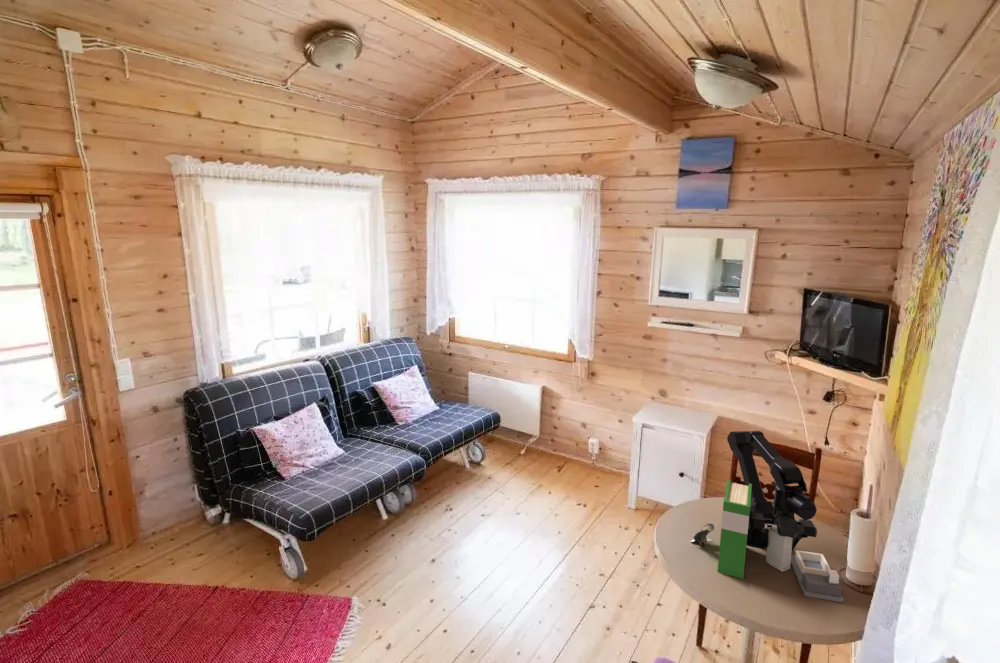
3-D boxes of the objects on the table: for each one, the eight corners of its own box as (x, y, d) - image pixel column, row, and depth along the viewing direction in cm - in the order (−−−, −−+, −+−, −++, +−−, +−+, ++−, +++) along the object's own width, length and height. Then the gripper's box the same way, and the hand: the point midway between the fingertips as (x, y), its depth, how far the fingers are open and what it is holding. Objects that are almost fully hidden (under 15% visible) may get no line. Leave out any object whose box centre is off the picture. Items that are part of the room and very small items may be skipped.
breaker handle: (828, 583, 154) (830, 574, 153) (825, 577, 157) (826, 568, 156) (838, 585, 153) (839, 576, 153) (834, 578, 156) (835, 570, 155)
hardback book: (721, 544, 181) (727, 479, 177) (745, 550, 178) (751, 483, 174) (717, 572, 166) (723, 501, 162) (743, 579, 162) (750, 507, 158)
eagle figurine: (712, 557, 174) (714, 532, 172) (689, 552, 176) (691, 527, 175) (712, 545, 180) (714, 521, 179) (690, 540, 183) (692, 516, 182)
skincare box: (790, 569, 168) (794, 534, 166) (781, 572, 166) (785, 537, 164) (773, 558, 173) (777, 524, 171) (764, 562, 171) (767, 528, 169)
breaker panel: (804, 595, 155) (806, 582, 154) (788, 557, 174) (789, 546, 173) (842, 602, 152) (844, 589, 151) (822, 563, 171) (823, 551, 170)
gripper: (756, 511, 161) (751, 557, 163) (825, 520, 156) (819, 568, 158) (750, 494, 171) (745, 538, 174) (814, 503, 166) (808, 548, 169)
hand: (778, 548), depth 168 cm, fingers closed on skincare box, 7 cm apart
